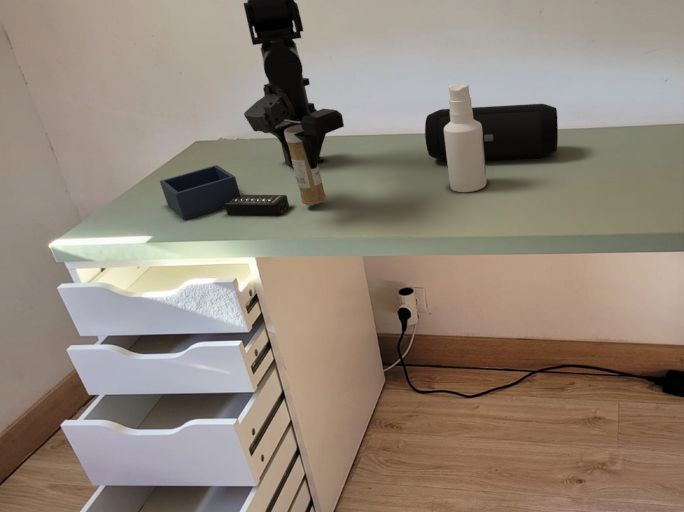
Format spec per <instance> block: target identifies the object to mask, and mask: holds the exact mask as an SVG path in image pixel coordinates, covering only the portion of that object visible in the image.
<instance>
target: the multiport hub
mask: <svg viewBox="0 0 684 512" xmlns="http://www.w3.org/2000/svg"><path fill="white" fill-rule="evenodd" d="M224 205H225V211H226V215H227V216H249V217H251V216H252V217H253V216H254V217H255V216H256V217H257V216H258V217H261V216H262V217H264V216H265V217H279V216H281V215H283V214H284V213H285V212H286V211H287V210H288V209H289V208H290V203H289V200H288V195H287V194H240V195H235V196H233V197H232V198H231V199H229V200H228V201H226V202H225V203H224Z"/></svg>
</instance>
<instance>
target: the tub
mask: <svg viewBox="0 0 684 512" xmlns="http://www.w3.org/2000/svg"><path fill="white" fill-rule="evenodd" d="M159 183H160V186H161V189H162V192H163V196H164V199H165V201H166V204H167V206H168V207H169V208H170V209H171V210H172V211H173V212H175V213H176V215H178V216H179V217H180V218H181V219H182V220H183V221H186V220H189V219H192V218H195V217H196V218H197V217H199V216H202V215H206V214H208V213H211V212H215V211H218V210H221V209H224V208H225V205H224V203H225V202H226V201H228V200H229V199H231V198H232V197H233V196H235V195H241V191H240V189H239V185H238V181H237V178H236V176H234V175H233V174H232V173H230V172H229V171H227V170H225V169H224V168H222V167H221V166H219V165H218V164H215V165H212V166H208V167H204V168H201V169H197V170H194V171H190V172H186V173H183V174H179V175H176V176H172V177H169V178H166V179H162V180H159ZM225 209H226V208H225Z"/></svg>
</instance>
